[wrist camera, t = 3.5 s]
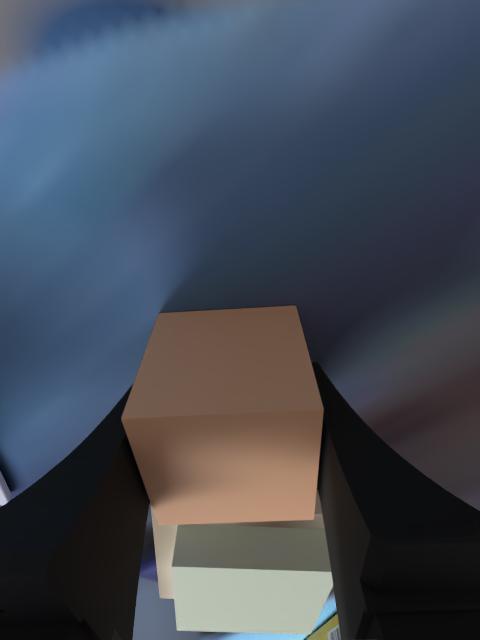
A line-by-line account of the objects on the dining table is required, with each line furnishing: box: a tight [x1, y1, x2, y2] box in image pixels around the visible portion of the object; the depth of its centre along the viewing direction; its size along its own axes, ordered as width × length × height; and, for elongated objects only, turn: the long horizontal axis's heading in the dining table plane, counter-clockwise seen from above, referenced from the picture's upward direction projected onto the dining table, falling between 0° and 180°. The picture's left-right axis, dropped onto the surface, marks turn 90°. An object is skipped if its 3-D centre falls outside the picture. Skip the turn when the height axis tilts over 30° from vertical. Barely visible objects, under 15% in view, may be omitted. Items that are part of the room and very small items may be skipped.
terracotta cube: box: [121, 305, 324, 525], centre depth 12 cm, size 5×5×5 cm
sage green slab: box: [172, 524, 333, 634], centre depth 20 cm, size 8×8×2 cm
